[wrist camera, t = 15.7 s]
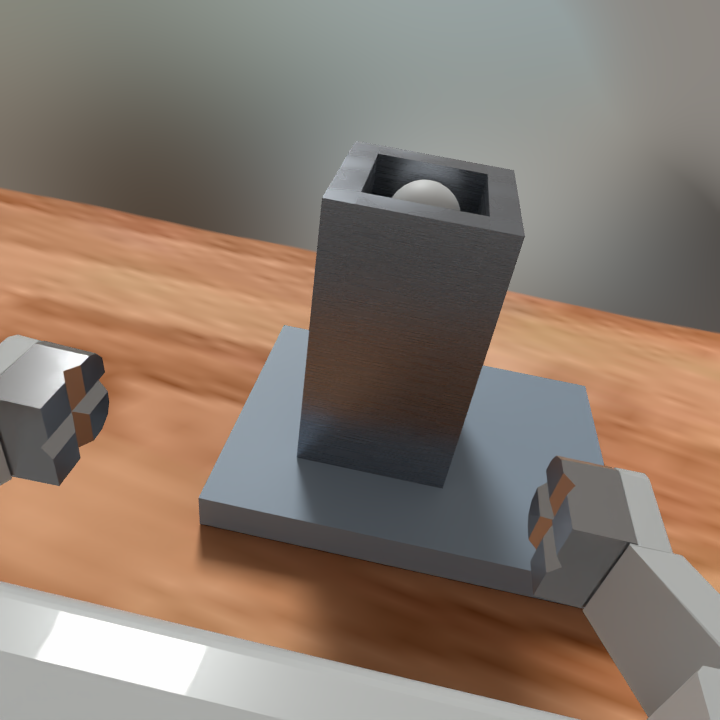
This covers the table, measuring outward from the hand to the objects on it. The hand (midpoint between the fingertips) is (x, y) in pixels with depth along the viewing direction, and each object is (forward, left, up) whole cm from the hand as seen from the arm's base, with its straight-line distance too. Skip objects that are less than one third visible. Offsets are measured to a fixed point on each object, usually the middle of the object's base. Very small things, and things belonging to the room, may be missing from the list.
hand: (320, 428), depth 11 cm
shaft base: (+3, +12, -12) cm, 17 cm away
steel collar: (+1, +12, -10) cm, 16 cm away
